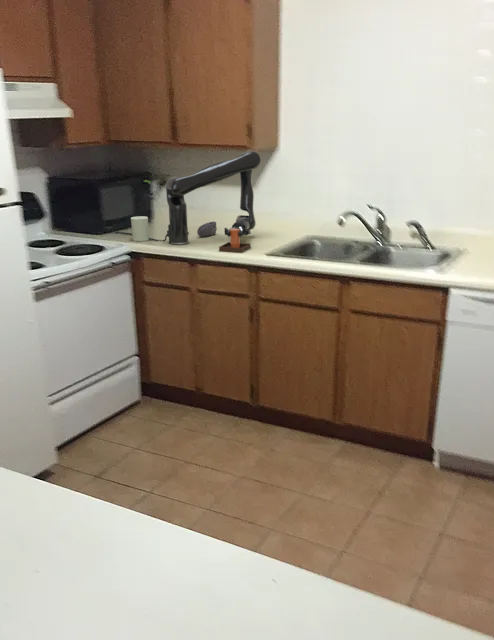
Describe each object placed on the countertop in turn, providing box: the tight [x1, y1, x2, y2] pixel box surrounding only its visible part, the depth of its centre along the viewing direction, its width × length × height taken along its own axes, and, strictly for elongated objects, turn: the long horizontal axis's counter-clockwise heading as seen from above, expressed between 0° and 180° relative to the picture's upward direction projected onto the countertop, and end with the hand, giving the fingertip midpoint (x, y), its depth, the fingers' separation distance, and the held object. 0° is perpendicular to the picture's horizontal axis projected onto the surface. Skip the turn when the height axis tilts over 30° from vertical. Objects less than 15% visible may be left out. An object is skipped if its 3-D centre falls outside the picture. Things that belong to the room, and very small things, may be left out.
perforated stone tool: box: [196, 221, 218, 238], centre depth 364 cm, size 15×5×7 cm, turn 139°
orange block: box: [229, 228, 241, 248], centre depth 331 cm, size 5×5×9 cm
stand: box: [218, 241, 252, 254], centre depth 333 cm, size 12×12×2 cm
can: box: [130, 215, 150, 242], centre depth 357 cm, size 9×9×12 cm
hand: (234, 234), depth 328 cm, fingers closed on orange block, 4 cm apart
